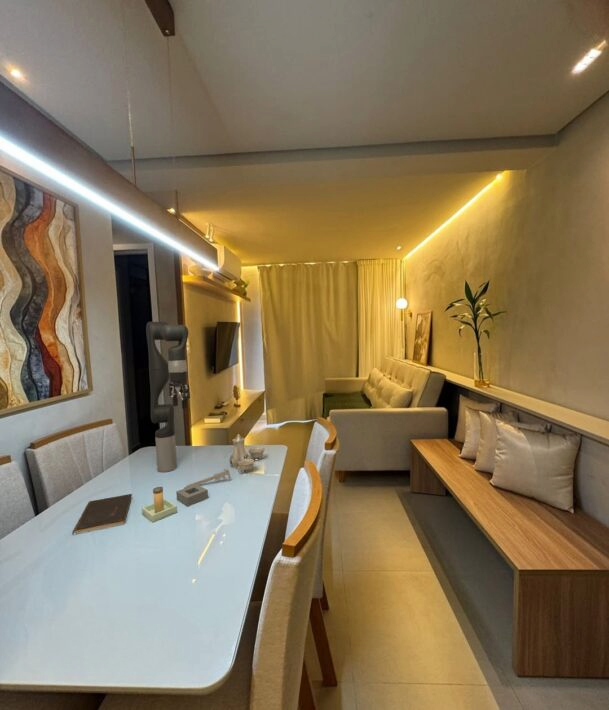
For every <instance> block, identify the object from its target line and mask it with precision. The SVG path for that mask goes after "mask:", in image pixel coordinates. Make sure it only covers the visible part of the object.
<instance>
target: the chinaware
mask: <svg viewBox="0 0 609 710" xmlns="http://www.w3.org/2000/svg"><path fill="white" fill-rule="evenodd" d="M245 440H246V438H245V437H242V436H241V435H240V434H239V433H238V434H237V436H236V437H235V438H233V439H232V443H233V448H232V449H233V450H232V453H231V455H230V457H229V459H228V460H229V463H230V465H231V467H232V468H233V469H237V472H238V474H239V473H240V474H241V473H242V474H249V473H248V472H249V471H250V472H251V470H253V468H254V466H255V465H254V463H256V460H254V459H261V458H262V457H263V456H264V452H265V447H262V448H261V447H259V446H257V447H254V448H249V450H248V453H249V454H250V456H251V457H250V456H249V454H248V453H247V451H246V447H245Z"/></svg>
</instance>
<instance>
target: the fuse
mask: <svg viewBox="0 0 609 710" xmlns="http://www.w3.org/2000/svg"><path fill="white" fill-rule="evenodd" d="M163 491H164V488H163V486H157V487H154V488H153V489H152V493H153V504H154V508H155V514H156V513H159V512H161V511H164V503H163V500H164V494H163V493H164V492H163Z"/></svg>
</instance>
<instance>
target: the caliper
mask: <svg viewBox="0 0 609 710" xmlns="http://www.w3.org/2000/svg"><path fill="white" fill-rule="evenodd" d="M226 476H227V478H228V481H231V473H230V470H229V469H227V467H226V468H223V470H222V471H220V472H217V473H215V474H213V475H211V476H208V477H205V478H203V479H201V480H200V479H199V480H197V481H194V482H191V483H189V484H186V485H185V486H184V487H183V488H182V489H185V488H187V487H190V486H193V485H196V484H197V485H199V486H201V485H202V484H206V483H208V482H211V481H214V480H215V481H218V480H221V479H223V481H224V482H225V483H226V482H227V479H226Z"/></svg>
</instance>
